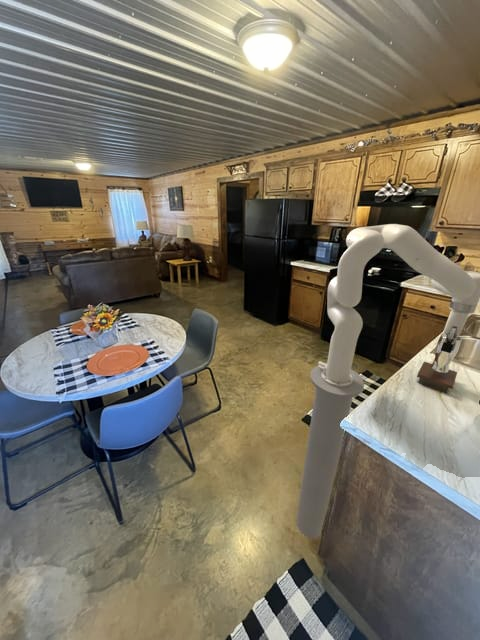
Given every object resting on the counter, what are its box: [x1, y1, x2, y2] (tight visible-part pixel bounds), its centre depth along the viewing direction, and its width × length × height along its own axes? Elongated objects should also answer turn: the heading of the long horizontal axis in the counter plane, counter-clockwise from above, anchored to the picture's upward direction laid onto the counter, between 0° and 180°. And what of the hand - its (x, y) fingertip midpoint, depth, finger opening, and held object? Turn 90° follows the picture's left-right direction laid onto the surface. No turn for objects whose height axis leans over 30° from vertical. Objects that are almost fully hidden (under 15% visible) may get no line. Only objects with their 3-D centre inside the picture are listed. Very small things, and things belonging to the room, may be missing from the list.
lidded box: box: [416, 361, 458, 394], centre depth 110 cm, size 12×13×4 cm
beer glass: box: [431, 333, 462, 373], centre depth 106 cm, size 7×7×15 cm
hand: (447, 347), depth 105 cm, fingers closed on beer glass, 7 cm apart
